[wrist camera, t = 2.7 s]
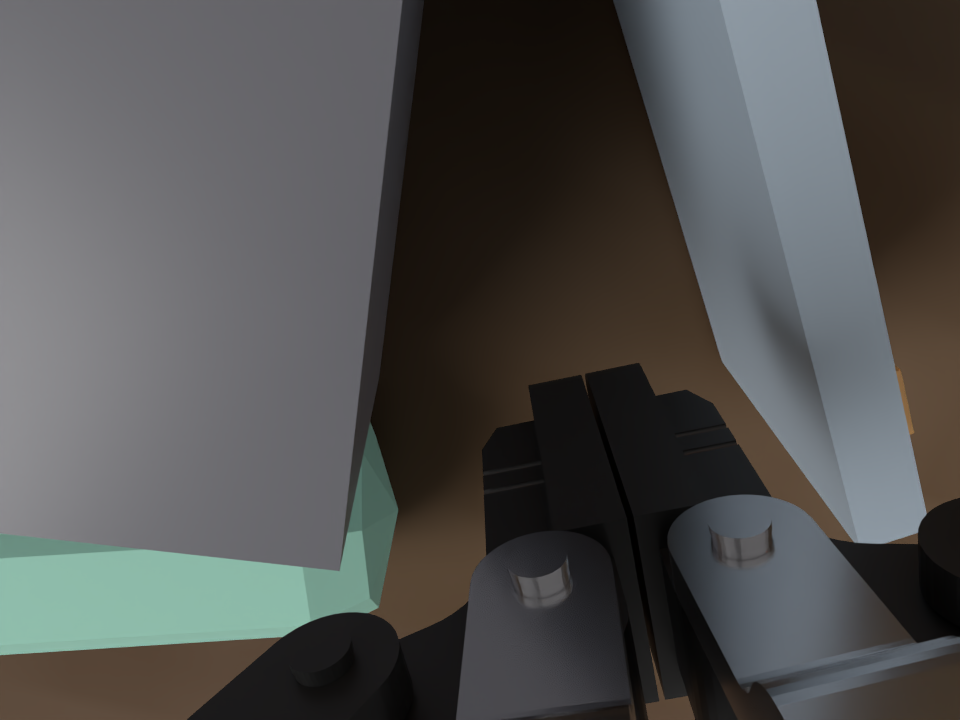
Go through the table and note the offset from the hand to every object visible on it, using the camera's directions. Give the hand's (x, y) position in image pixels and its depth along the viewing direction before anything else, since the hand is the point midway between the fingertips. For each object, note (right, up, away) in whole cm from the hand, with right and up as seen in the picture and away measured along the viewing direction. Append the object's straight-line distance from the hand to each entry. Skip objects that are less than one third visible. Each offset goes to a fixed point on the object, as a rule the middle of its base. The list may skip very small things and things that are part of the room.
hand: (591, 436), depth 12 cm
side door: (+2, +7, +4) cm, 9 cm away
